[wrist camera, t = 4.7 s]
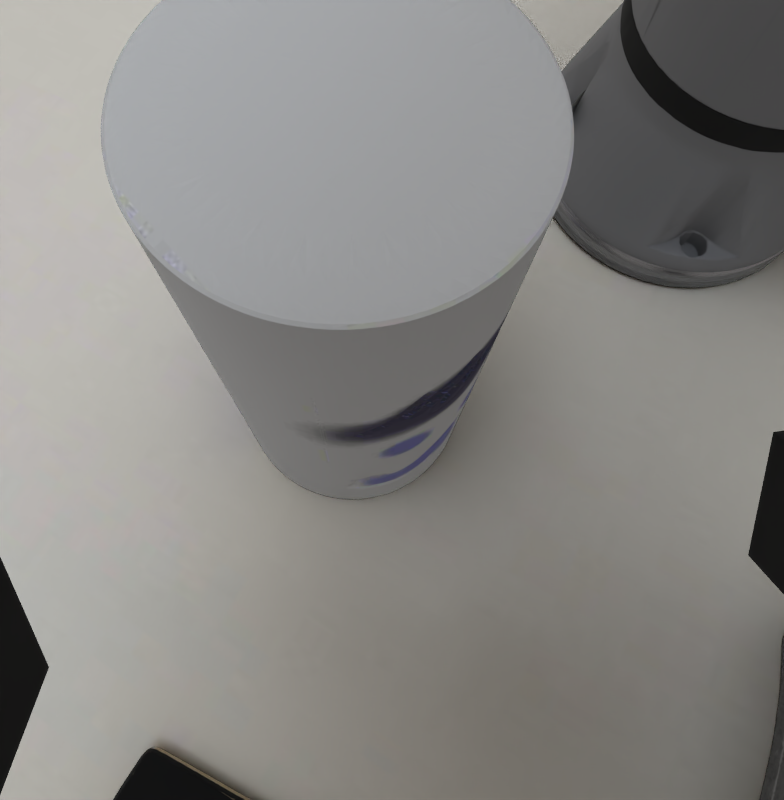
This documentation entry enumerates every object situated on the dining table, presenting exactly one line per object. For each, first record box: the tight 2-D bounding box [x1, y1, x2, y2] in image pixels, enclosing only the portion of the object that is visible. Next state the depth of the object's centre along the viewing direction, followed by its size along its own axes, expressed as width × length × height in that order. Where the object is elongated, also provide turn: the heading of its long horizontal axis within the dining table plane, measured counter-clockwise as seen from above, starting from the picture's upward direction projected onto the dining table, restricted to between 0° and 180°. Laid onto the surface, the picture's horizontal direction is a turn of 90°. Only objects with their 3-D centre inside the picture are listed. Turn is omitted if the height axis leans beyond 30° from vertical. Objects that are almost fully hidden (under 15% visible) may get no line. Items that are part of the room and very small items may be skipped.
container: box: [101, 0, 574, 499], centre depth 24 cm, size 10×10×20 cm
